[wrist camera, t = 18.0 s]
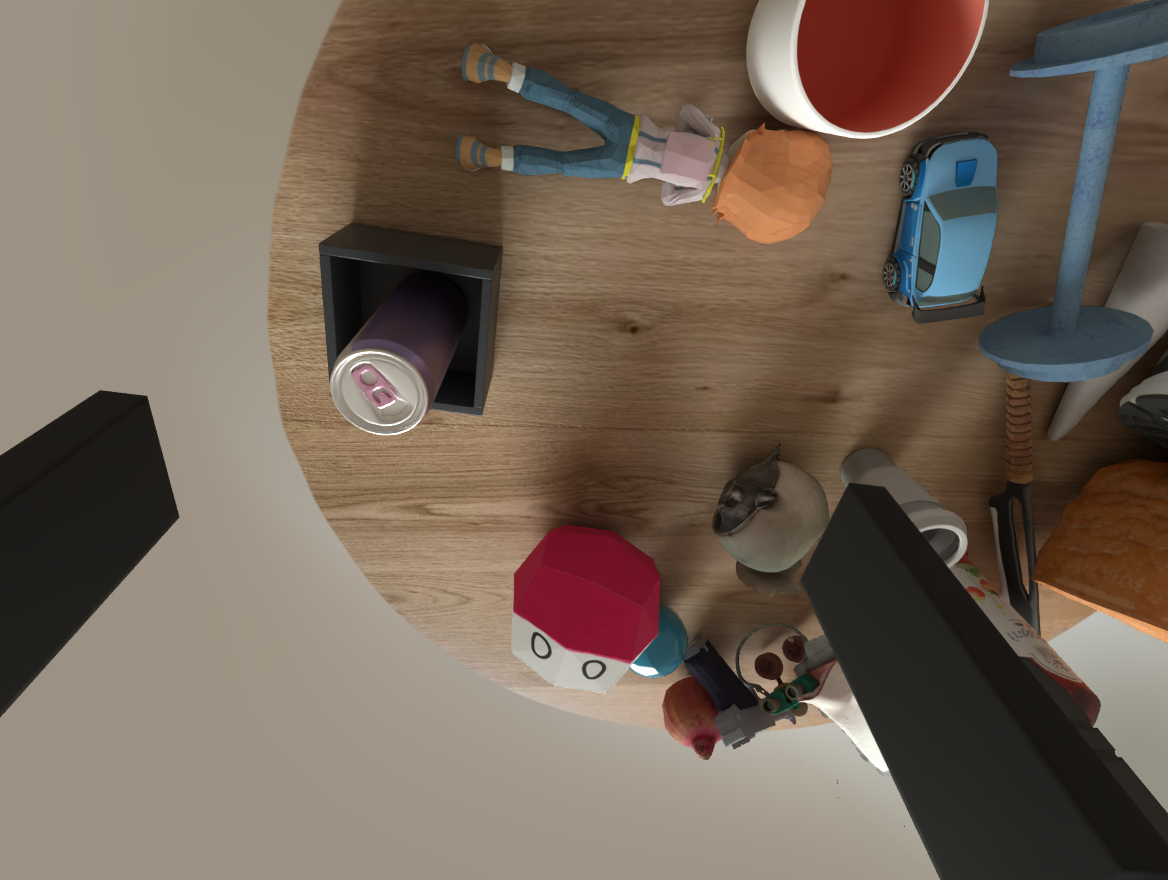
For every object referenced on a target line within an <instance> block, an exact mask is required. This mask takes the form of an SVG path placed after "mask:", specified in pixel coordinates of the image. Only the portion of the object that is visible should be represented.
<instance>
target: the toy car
mask: <svg viewBox="0 0 1168 880" xmlns="http://www.w3.org/2000/svg"><path fill="white" fill-rule="evenodd" d="M910 156H912V157H914V158H910V159H908V160H906V162H905V163H904V164H903V166H902V168H901V171H900V175H899V186H900V190H901V192H902V193H903V194H904V195H905V196H910V197H903V198H902V200H901V205H900V211H899V216H898V221H897V226H896V231H895V237H894V242H893V247H892V252H891V256H893V257H895V258H890V259H889V260H887V262H886V263H885V265H884V269H883V281H884V284H885V286H886V288H887V289H888V290H890V291H895V290H896V291H895V292H888V294H889V296H890V297H891V299H892V300H893V301H894V302H896V303H898V304H900V305H902V306H905V307H912V308H913V311H912V315H913V318H914V320H915V321H916V322H917V323H918V324H920V323H930V322H938V321H945V320H952V319H960V318H967V317H973V316H979V315H984V303H985V296H984V292H983V285H982V287H981V292H980V297H979V296H978V295H977V294H975V293H976V291H977V290H978V288H979V286H980V282H981V280H982V277H983V274H984V272H985V269H986V266H987V263H988V259H989V256H990V252H991V248H992V243H993V239H994V234H995V228H996V222H997V209H998V194H997V188H996V175H997V170H998V156H997V151H996V149H995V148H994V146H993V144H992V143H991V142H990V141H989V140H988V136H987V135H986V134H983V133H980V132H969V133H956V134H949V135H942V136H937V137H933V138H929V139H926V140H924V141H921V142H919V143H918V144H917V145H916V146H915V147H914V148H913V149H912V152H911V154H910ZM971 297H974V298H976V300H977V301H978V302H976V303H972V304H968V305H963V306H957V307H950V308H943V309H933V310H921V309H920V308H923V307H932V306H939V305H947V304H953V303H959V302H963V301H966V300H969V299H970V298H971Z"/></svg>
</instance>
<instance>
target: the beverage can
mask: <svg viewBox="0 0 1168 880" xmlns="http://www.w3.org/2000/svg"><path fill="white" fill-rule="evenodd" d="M466 322H467V307H466V303H465V300H464V298H463V296H462V295H461V293H460V292H459V290H458V289H457V288H456V287H455V286H454V285H453V284H452V283H451V282H449V281H448V280H446V279H445V278H443V277H440V276H438V275H435V274H430V273H419V274H414V275H411V276H408V277H407V278H405V279H403V280H402V281H401V282H400V283H399V284H398V285H397V286H396V287H395V289H394V290H393V291H392V292H391V293H390V295H389V296H388V297H387V298H386V299H385V301H384V302H383V303H382V304H381V305H380V307H379V308H378V309H377V310H376V311H375V313H374V314H373V315H372V316H371V317H370V319H369V320H368V321H367V322H366V323H365V325H364V326H363V327H362V328H361V329H360V331H359V332H358V333H357V334H356V335H355V337H354V338H353V339H352V340H351V341H350V343H349V344H348V345H347V346H346V347H345V349H344V350H343V351H342V352H341V354H340V355H339V356H338V358H337V360H336V362H335V364H334V368H333V371H332V374H331V377H330V393H331V396H332V399H333V402H334V404H335V406H336V407H337V409H338V410H339V412H340V413H341V414H342V415H343V416H344V417H345V418H346V419H347V420H348V421H349V422H351V423H352V424H353V425H355V426H357V427H358V428H360V429H363V430H365V431H368V432H371V433H375V434H380V435H393V434H399V433H403V432H405V431H408V430H410V429H411V428H413V427H414V426H416V425H417V424H418V423H419V422H420V421H421V419H422V418H423V417H424V416H425V415H426V414H427V413H428V412H429V410H430V409H431V407H432V405H433V402H434V400H435V397H436V395H437V393H438V390H439V388H440V385H441V383H442V381H443V378H444V376H445V373H446V371H447V369H448V366H449V364H450V361H451V359H452V357H453V354H454V352H455V349H456V347H457V345H458V342H459V340H460V337H461V335H462V333H463V330H464V328H465V325H466Z"/></svg>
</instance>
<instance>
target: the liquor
mask: <svg viewBox="0 0 1168 880" xmlns="http://www.w3.org/2000/svg"><path fill="white" fill-rule="evenodd" d="M949 569H950V570H951V571H952V573H953V574H954V575H955V576H956V578H957V579H958V580H959V581H960V583H961V584H962V585H963V586H964V588H965V589H966V590H967V591H968V593H969V594H970V595H971V597H972V598H973V599H974V600H975V602H976V603H977V604H978V605H979V607H980V608H981V609H982V610H983V612H984V613H985V614H986V615H987V617H988V618H989V619H990V621H991V622H992V623H993V624H994V626H995V627H996V628H997V629H998V631H999V632H1000V633H1001V634H1002V636H1003V637H1004V638H1005V640H1006V641H1007V642H1008V643H1009V645H1010V646H1011V647H1012V648H1013V650H1014V651H1015V652H1016V653H1017V655H1018V656H1022V657H1029V658H1030V659H1031V660H1032V661H1033V662H1034V663H1036V664H1037V665H1038V666H1039V667H1040V668H1042V669H1043V670H1044V671H1045V672H1046V673H1048V674H1049V675H1050V676H1051V677H1052V678H1053V679H1055V680H1056V681H1057V682H1058V683H1059V684H1061V685H1062V686H1063V687H1064V688H1065V689H1066V691H1067V692H1068V693H1069V694H1070V695H1071V697H1072V698H1073V699H1074V700H1075V702H1076V703H1077V704H1078V705H1079V706H1080V708H1081V709H1082V710H1083V711H1084V712H1085V714H1086V715H1087V716H1088V717H1089V718H1090V720H1091V721H1092V722H1091V725H1092V727H1093V726H1094V724H1095V722H1096V720H1097V717H1098V713H1099V711H1100V707H1101V704H1100V700H1099V699H1098V697H1097V696H1096V695H1095V694H1094V693H1093V692H1092V691H1091V690H1090V689H1089V687H1087V685H1086V684H1085V683H1084V682H1083V681H1082V680H1081V679H1080V678H1079V677H1078V676H1077V675H1076V674H1075V673H1074V672H1073V670H1072V669H1071V668H1070V667H1069V666H1068V665H1067V664H1066V663H1065V662H1064V661H1063V660H1062V658H1061V657H1060V656H1059V655H1058V654H1057V653H1056V652H1055V651H1054V650H1053V649H1052V648H1051V646H1049V644H1048V643H1047V642H1046V641H1045V640H1044V639H1043V638H1042V637H1041V636H1040V635H1039V634H1038V633H1037V632H1036V631H1035V630H1034V629H1033V628H1032V627H1031V626H1030V625H1029V624H1028V623H1027V622H1026V621H1025V620H1024V619H1023V618H1022V617H1021V616H1020V615H1019V614H1018V613H1017V612H1016V610H1015V609H1014V608H1013V607H1012V606H1011V605H1010V604H1009V603H1008V602H1007V601H1006V600H1005V599H1004V597H1003V596H1002V595H1001V594H1000V593H999V592H998V591H997V590H996V589H995V588H994V587H993V586H992V584H991V583H990V582H989V581H988V580H987V579H986V578H985V577H984V576H983V575H982V573H981V572H980V571H979V570H978V569H977V568H976V567H975V566H974V564H973V563H972V562H971V561H970V560H969V559H968V553H967V550H966V551H965V553H964V555H963V556H962V558H961V559H960V560H959V561H958V562H957V563H955V564H954V565H953V566H952V567H950V568H949Z"/></svg>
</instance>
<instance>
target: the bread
mask: <svg viewBox="0 0 1168 880" xmlns="http://www.w3.org/2000/svg"><path fill="white" fill-rule="evenodd" d="M1031 580H1033V581H1035V582H1037V583H1039V584H1041V585H1043V586H1045V587H1047V588H1049V589H1052V590H1054V591H1056V592H1058V593H1060V594H1062V595H1064V596H1066V597H1068V598H1071V599H1073V600H1075V601H1078V602H1080V603H1082V604H1085V605H1087V606H1089V607H1091V608H1094V609H1096V610H1098V611H1100V612H1103V613H1105V614H1107V615H1109V616H1112V617H1114V618H1116V619H1118V620H1120V621H1122V622H1124V623H1126V624H1127V625H1129V626H1131V627H1133V628H1135V629H1137V630H1139V631H1142V632H1144V633H1146V634H1149V635H1151V636H1154V637H1155V638H1158V639H1160V640H1163V641H1165V642H1167V643H1168V463H1164V462H1157V461H1149V460H1142V459H1131V460H1127V461H1124V462H1120V463H1117V464H1113V465H1110V466H1106V467H1103V468H1100V469H1099V470H1098V471H1097V472H1096V474H1095V475H1094V476H1093V477H1092V478H1091V479H1090V481H1089V482H1088V483H1087V484H1086V485H1085V486H1084V488H1083V490H1082V491H1081V493H1080V495H1079V497H1077V498H1076V499H1074V500H1073V501H1071V502H1070V503H1068V504H1066V507H1065V509H1064V511H1063V513H1062V516H1061V519H1060V522H1059V524H1058V526H1057V527H1056V528H1055V530H1054V531H1053V533H1052V534H1051V535H1050V537H1049V538H1048V540H1047V541H1046V542H1045V544H1044V545H1043V547H1042V548H1041V549H1040V551H1039V553H1038V556H1037V560H1036V564H1035V568H1034V571H1033V575H1032V579H1031Z"/></svg>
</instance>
